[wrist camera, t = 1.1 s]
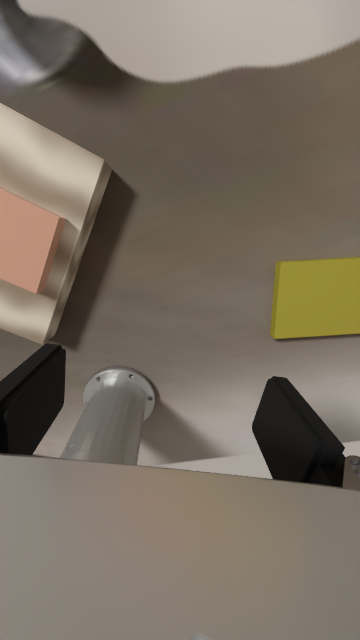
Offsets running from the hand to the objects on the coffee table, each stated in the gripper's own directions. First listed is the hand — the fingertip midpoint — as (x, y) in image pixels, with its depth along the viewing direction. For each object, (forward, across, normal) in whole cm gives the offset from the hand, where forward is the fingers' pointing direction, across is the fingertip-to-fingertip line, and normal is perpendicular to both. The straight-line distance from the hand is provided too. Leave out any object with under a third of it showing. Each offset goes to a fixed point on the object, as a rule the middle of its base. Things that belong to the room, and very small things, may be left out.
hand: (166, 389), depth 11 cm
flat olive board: (+28, -29, -3) cm, 40 cm away
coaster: (+23, +20, -3) cm, 31 cm away
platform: (+27, +21, -3) cm, 34 cm away
